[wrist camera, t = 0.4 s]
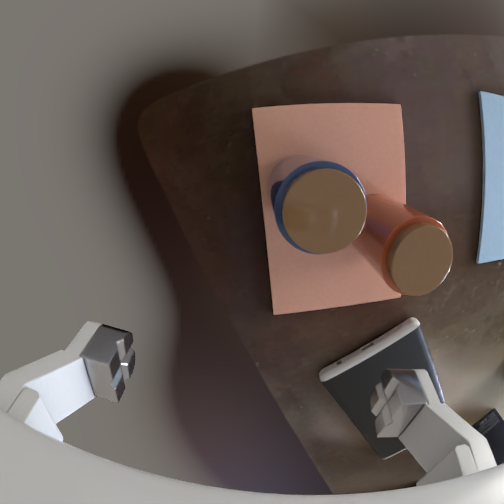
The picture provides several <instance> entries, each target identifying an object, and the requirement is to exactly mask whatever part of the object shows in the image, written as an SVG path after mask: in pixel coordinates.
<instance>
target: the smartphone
mask: <svg viewBox="0 0 504 504" xmlns="http://www.w3.org/2000/svg"><path fill="white" fill-rule="evenodd" d="M386 369H411V370H412V369H425V370H426V371H427V372H428V374H429V377H430V379H431V381H432V384H433V386H434V388H435V391H436V393H437V395H438V398H439V400H440V403H444V404H446V403H445V399H444V396H443V393H442V389H441V385H440V382H439V379H438V376H437V372H436V369H435V366H434V363H433V360H432V357H431V354H430V351H429V348H428V345H427V342H426V339H425V336H424V334H423V331H422V328H421V325H420V323H419V321H418V320H417V319H416V318H414V317H411V318H409V319H407V320H405V321H404V322H402V323H401V324H399V325H398V326H396V327H395V328H393V329H391V330H390V331H388V332H386V333H385V334H383V335H382V336H380V337H378V338H377V339H375V340H373V341H372V342H370V343H368V344H367V345H365V346H363V347H361V348H360V349H358V350H356V351H354V352H353V353H351V354H349V355H347V356H345V357H344V358H342V359H340V360H338V361H336V362H334V363H333V364H331V365H329V366H327V367H325V368H323V369H322V370H321V371H320V372H319V377H320V380H321V382H322V383H323V384H324V386H325V387H326V388H327V390H328V391H329V392H330V393H331V395H332V396H333V397H334V399H335V400H336V401H337V403H338V404H339V405H340V406H341V408H342V409H343V410H344V412H345V413H346V414H347V415H348V417H349V418H350V419H351V421H352V422H353V423H354V424H355V426H356V427H357V428H358V429H359V431H360V432H361V433H362V435H363V436H364V437H365V438H366V440H367V441H368V442H369V443H370V445H371V446H372V447H373V449H374V450H375V451H376V452H377V454H378V455H379V456H380V457H381V458H382V459H387V458H389V457H391V456H393V455H395V454H397V453H399V452H401V451H403V450H405V449H407V448H406V447H405V446H404V444H403V443H402V442H401V441H400V440H399V437H377V435H376V431H375V426H374V420H375V419H376V416H375V415H374V414H373V413H372V412H371V408H370V397H371V392H372V390H373V389H374V387H375V385H377V384H378V383H380V382H381V378H380V376H381V374H382V373H383V371H384V370H386Z"/></svg>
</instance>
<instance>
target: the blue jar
mask: <svg viewBox="0 0 504 504" xmlns="http://www.w3.org/2000/svg"><path fill="white" fill-rule="evenodd" d="M267 195H268V199H269V202H270V205H271V208H272V211H273V214H274V217H275V221H276V224H277V227H278V229H279V231H280V233H281V234H282V236H283V237H284V238H285V239H286V241H287V242H289V243H290V244H291V245H292V246H294V247H295V248H297V249H299V250H300V251H303V252H306V253H310V254H318V255H319V254H329V253H334V252H337V251H340V250H342V249H344V248H346V247H347V246H349V245H350V244H351V243H352V242H353V241H354V240H355V239H356V238H357V237H358V235H359V234H360V232H361V231H362V229H363V226H364V224H365V220H366V215H367V199H366V194H365V191H364V188H363V186H362V184H361V182H360V181H359V179H358V178H357V177H356V176H355V175H354V174H353V173H352V172H351V171H350V170H349V169H347V168H346V167H344V166H342V165H340V164H338V163H334V162H331V161H327V160H323V159H319V158H315V157H311V156H307V155H293V156H289V157H287V158H285V159H283V160H281V161H280V162H279V163H278V164H277V165H276V166H275V167H274V168H273V169H272V171H271V173H270V175H269V177H268V181H267Z"/></svg>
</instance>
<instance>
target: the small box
mask: <svg viewBox="0 0 504 504" xmlns="http://www.w3.org/2000/svg"><path fill="white" fill-rule="evenodd" d="M473 428H474V429H475V430H477V431H478V432H479V433H480V434H481V435H483V436H484V437H485V438H486V439H487V441H488V444H489V446H490V449H491V451H492V454H493V456H494V459H495V462H496V464H497V466H498V465H501V464H503V463H504V420H503V419H502V417H501V416H500V415H499V413H498V412H497V410H496V409H495V408H494V409H493V410H492V411H491V412H490V413H489V414H487V415H486V416H485V417H484V418H483V419H481V420H480V421H479V422H478V423H477V424H475V425H474V426H473Z"/></svg>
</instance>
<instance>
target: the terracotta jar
mask: <svg viewBox="0 0 504 504" xmlns="http://www.w3.org/2000/svg"><path fill="white" fill-rule="evenodd" d="M366 199H367V215H366V220H365V224H364V226H363V229H362V231H361V232H360V234H359V235H358V237H357V238H356V239H355V240H354V241H353V242H352V243H351V245H352V246H353V247H354V248H355V249H356V250H357V251H358V252H359V253H360V254H361V256H362V257H363V258H364V259H365V260H366V261H367V262H368V263H369V264H370V266H371V267H372V268H373V269H374V270H375V271H376V272H377V274H378V275H379V276H380V277H381V278H382V279H383V280H384V282H385V283H386V284H387V285H388V286H389V287H390V288H391V289H392V290H394V291H395V292H397V293H400V294H405V295H412V296H419V295H424V294H426V293H429V292H431V291H432V290H434V289H435V288H436V287H438V286H439V285H440V284H441V283H442V281H443V280H444V279H445V277H446V276H447V274H448V272H449V269H450V267H451V263H452V258H453V249H452V244H451V241H450V239H449V237H448V234H447V232H446V230H445V228H444V227H443V225H442V224H441V223H440V222H439V221H437V220H436V219H434V218H432V217H430V216H428V215H426V214H424V213H422V212H420V211H418V210H416V209H414V208H412V207H410V206H407V205H405V204H403V203H401V202H399V201H397V200H395V199H392V198H390V197H388V196H386V195H383V194H378V193H374V194H368V195H366Z"/></svg>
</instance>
